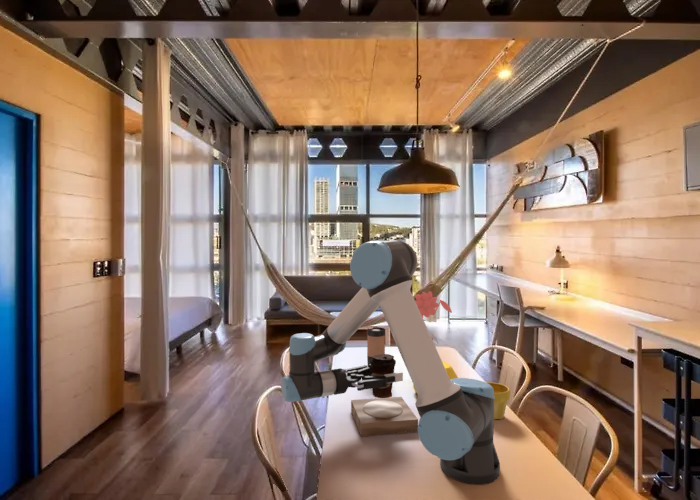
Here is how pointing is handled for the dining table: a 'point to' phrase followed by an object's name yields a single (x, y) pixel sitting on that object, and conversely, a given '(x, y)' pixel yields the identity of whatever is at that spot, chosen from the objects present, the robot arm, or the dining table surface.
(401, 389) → the dining table surface
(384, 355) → the coffee cup
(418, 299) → the figurine
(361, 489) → the dining table surface
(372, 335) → the travel mug
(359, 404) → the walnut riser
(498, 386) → the plant pot
